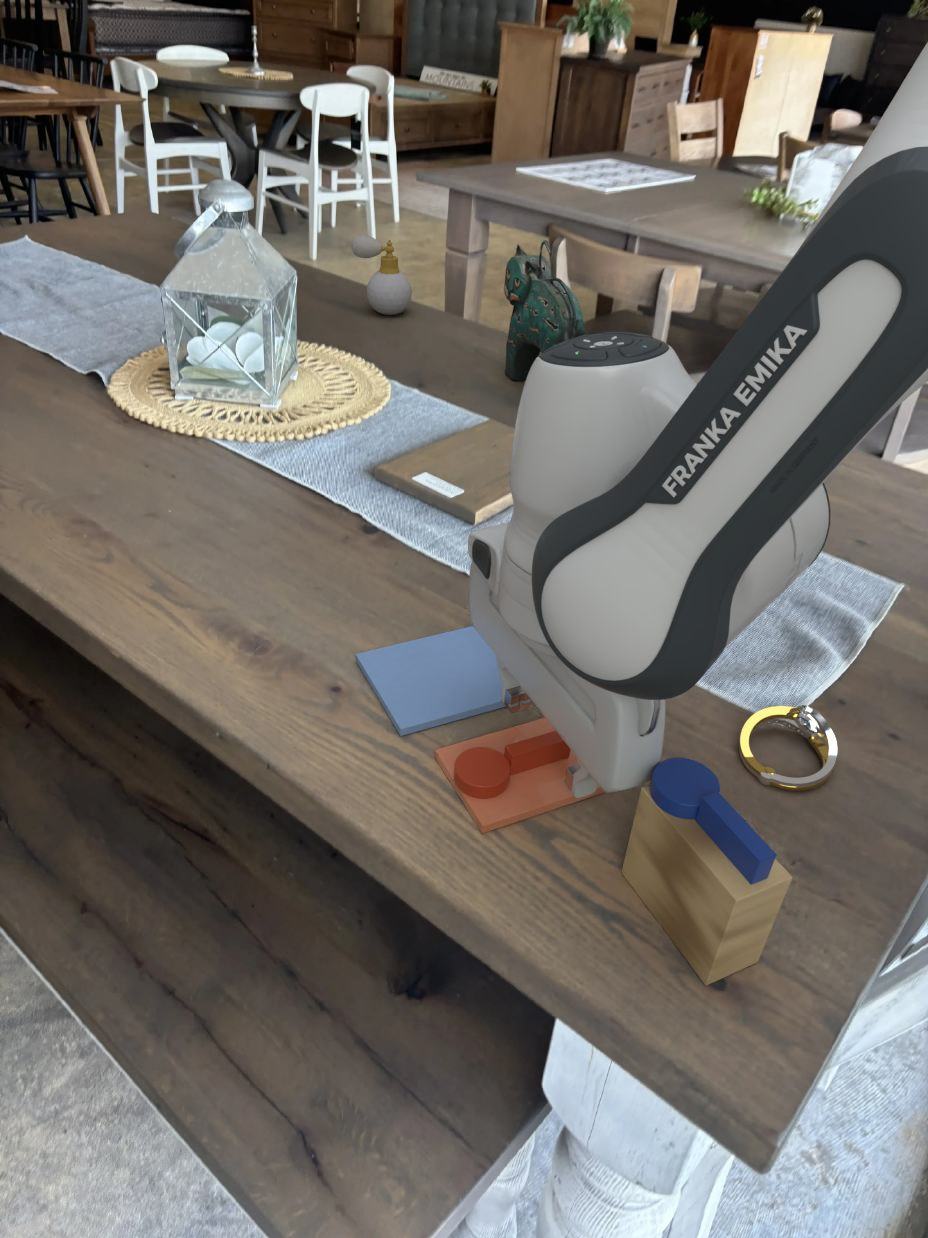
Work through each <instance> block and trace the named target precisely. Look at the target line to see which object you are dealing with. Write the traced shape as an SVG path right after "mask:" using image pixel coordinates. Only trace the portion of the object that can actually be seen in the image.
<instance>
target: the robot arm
mask: <svg viewBox="0 0 928 1238" xmlns="http://www.w3.org/2000/svg"><path fill="white" fill-rule="evenodd" d="M927 383H928V41H927V42H926V44H925V46H924V47H923V49H922V50H921V52H920V53H919V54H918V56H917V58H916V60H915V61H914V63H913V65H912V66H911V68H910V70H909V72H908V73H907V75H906V77H905V78H904V79H903V81H902V83H901V85H900V86H899V89H897V91H896V93H895V95H894V96H893V98H892V100H891V101H890V103H889V105H888V106H887V108H886V110H885V111H884V113H883V115H882V116H881V118H880V120H879V121H878V124H877V125H876V126H875V128H874V130H873V131H872V133H871V134H870V135H869V138H868V139H867V141H866V143H864V146H863V147H862V148H861V150H860V152H859V154H858V155H857V157H856V158H855V159H854V160H853V163H852V164H851V165H850V167H849V169H848V171H847V172H846V173H845V175H844V176H843V178H842V179H841V181H840V182H839V184H838V186H837V187H836V188H835V190H834V192H833V193H832V195H831V197H830V198H829V200H828V201H827V203H826V205H825V206H824V207H823V209H822V211H821V212H820V214H819V216H818V217H817V219H816V220H815V222H814V224H813V225H812V226H811V228H810V230H809V232H808V234H807V235H806V236H805V238H804V240H803V242H802V243H801V245H800V246H799V248H798V249H797V250H796V252H795V254H794V255H793V256H792V258H791V259H790V260H789V262H788V263H787V264H786V265H785V266H784V269H782V271H781V272H780V274H779V275H778V277H776V279H775V281H774V282H773V283H772V285H771V286H770V287H769V289H768V290H767V291H766V293H765V294H764V295H763V296H762V298H761V299H760V301H758V303H757V304H756V306H755V307H754V308H753V309H752V311H750V313H749V315H748V316H747V317H746V318H745V320H744V321H743V323H742V324H741V325H740V327H739V328H738V330H737V331H735V333H734V335H733V336H732V337H731V339H730V340H729V341H728V342H727V344H726V345H725V347H724V348H723V349H722V351H720V353H719V355H718V356H717V357H716V358H715V360H714V361H713V362H712V363H711V365H710V367H708V369H707V370H706V372H704V375H702V377H701V378H700V380H699V381H698V382H696V381H695V380H694V379H693V378H692V377H691V375H689V373H688V371H687V369H686V368H685V367H684V365H683V363H682V362H681V360H680V357H679V355H678V354H677V353H676V351H675V350H674V348H673V347H672V346H670V345H669V344H668V343H667V342H665V341H663V340H661V339H659V338H656V337H654V336H652V335H648V334H643V333H638V332H637V333H636V332H630V331H629V332H627V331H626V332H625V331H624V332H623V331H607V332H601V333H593V334H585V335H583V336H579V337H576V338H573V339H570V340H567V341H564V342H562V343H559V344H557V345H555V346H553V347H551V348H549V349H547V350H545V351H544V352H543V353H540V354H539V356H538V357H537V358H536V359H535V361H534V363H533V364H532V366H531V368H530V371H529V373H528V375H527V378H526V381H524V384H523V387H522V392H521V394H520V395H521V396H520V400H519V404H518V408H517V415H516V419H515V426H514V432H513V439H512V449H511V458H510V469H509V488H510V493H511V497H512V503H513V505H512V506H513V507H512V513H511V517H510V520H509V522H504V523H499V524H496V525H495V524H494V525H491V526H486V527H482V528H479V529H476V530H472V531H470V532H469V533H468V537H467V538H468V539H467V553H468V557H469V558H470V560H471V563H470V567H469V580H468V612H469V615H470V619H471V622H472V626H473V627H474V628H475V630H476V631H477V632H478V633H479V635H480V636H481V637H482V638H483V640H484V641H485V642H486V643H487V645H488V646H489V647H490V648H491V650H492V651H493V652H494V653H495V655H496V662H497V666H498V670H499V674H500V679H501V683H502V685H503V686H502V696H501V700H502V701H503V703H504V704H505V705H506V708H507V709H508V710H509V712H510V713H512V714H515V713H518V712H519V711H525V710H527V709H529V708H530V706H531V703H533V704H534V705H535V706H536V708H537V710H539V711H540V713H541V714H542V715H543V717H544V718H546V719H547V720H548V721H549V723H550V724H551V725H552V726H553V728H554V729H555V730H556V731H557V733H558V734H559V735H560V736H561V738H562V739H563V740H564V742H565V743H566V744H567V745H568V747H569V748H570V749H571V750H572V752H573V753H574V754H575V755H576V757H577V762H578V764H579V766H578V765H573V766H570V767H567V768H566V773H565V775H566V779H564V783H565V784H566V786H567V787H568V788H569V790H570V791H571V793H572V794H573V795H574V797H575V798H578V799H579V798H582V797H585V796H588V795H591V794H592V793H594V792H595V791H596V789H597V785H598V784H599V786H600V787H601V788H602V789H603V790H604V791H605V793H617V792H622V791H627V790H630V789H634V788H636V787H639V786H641V785H645V784H647V783H648V782H651V778H652V774H653V771H654V769H655V767H656V766H657V765H658V764H659V763H660V762H662V755H663V748H664V739H665V731H666V730H665V728H666V715H667V714H666V712H667V711H666V700H669V699H673V698H676V697H679V696H681V695H683V694H685V693H686V692H688V691H689V690H691V689H692V688H693V687H694V686H695V685H697V683H698V682H699V681H700V680H701V679H702V678H703V676H704V675H705V674H706V673H707V672H708V671H709V670H710V669H711V667H712V666H713V665H714V663H716V661H717V660H718V659H719V657H721V655H722V654H723V653H724V650H726V648H727V647H728V646H729V645H730V644H731V643H732V642H733V641H734V640H735V639H736V638H737V637H739V635H740V634H742V633H743V631H744V630H746V629H747V628H748V627H749V626H750V625H751V624H752V623H753V622H754V621H755V620H756V619H757V618H758V617H759V616H760V615H761V614H762V613H764V612H765V611H766V610H767V609H768V607H769V606H771V605H772V604H773V602H775V601H776V600H777V599H778V598H779V597H780V596H781V595H782V594H783V593H784V592H785V591H786V590H787V589H788V588H789V587H790V586H791V585H793V584H794V582H796V580H798V578H799V577H800V576H801V575H802V574H803V573H804V572H805V571H806V570H807V569H808V568H809V567H810V566H811V565H812V564H813V563H814V562H815V561H816V560H817V558H818V557H819V556H820V555H821V553H822V551H823V549H824V547H825V545H826V542H827V540H828V537H829V532H830V526H831V503H830V497H829V494H828V490H827V487H826V484H825V482H826V481H827V480H828V479H829V478H830V477H831V475H832V474H833V473H834V472H835V471H836V470H837V469H838V468H839V467H840V465H841V464H842V463H843V462H844V461H845V460H846V459H847V458H848V457H849V456H850V455H851V454H852V452H854V450H856V448H857V447H858V446H859V445H860V444H861V443H862V442H863V440H865V439H866V437H867V436H869V435H870V433H871V432H872V431H873V430H874V429H876V428H877V426H879V425H880V423H881V422H882V421H884V419H885V418H887V417H888V416H889V415H890V414H891V413H892V412H893V411H894V410H895V409H896V408H897V407H899V406H900V405H901V404H902V403H903V402H905V401H906V400H907V399H908V398H909V397H910V396H912V395H913V394H915V392H917V391H918V390H919V389H920V388H922V387H923V386H925V384H927ZM531 701H532V702H531Z"/></svg>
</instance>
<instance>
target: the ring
mask: <svg viewBox="0 0 928 1238" xmlns="http://www.w3.org/2000/svg"><path fill="white" fill-rule="evenodd" d="M770 724H777V725H782V726H783V727H787V728H788V729H791V730H792V731H793V732H796V733H797V734H798V735H801V736H802V738H804V739H806V740H807V741H808V744H810V745H811V746H812V748H813V749H814V750H815V752H816V753H817V755H818V757H819V759H820V761H821V765H822V767H821V769H820V770H818V771H817V772H816V773H813V774H810V775H808V776H802V777H792V776H791V777H790V776H785V775H781V774H778V773H777V772H776V770H775V769H774V768H772V767H770V766H763V765H762V764H761V763H760V762H759V761H757V759H756V758H755V756H754V755H753V753H752V751H751V748H750V737H751V735H752V734H753V733H754V732H755V731H756V730H758V729H759V728H761V727H763V726H766V725H770ZM832 729H833V728H832V727H831V726H830V724H829V723H828V721H827V720H826V719H825V718H824V717H823V715H822V714H821V713H820V712H819V711H818V710H816V709H815V708H813V707H812V706H809V705H805V704H802V705H801V704H800V705H798V706H795V707H794V706H787V705H786V706H785V705H775V706H768V707H765V708H763V709H760V710H758V711H756V712H755V713H753V714H752V715H751V716H749V718H748V719H747V720H746V721H745V723H744V725H743V726H742V729H741V732H740V736H739V742H738V743H739V744H738V750H739V751H738V752H739V755H740V759H741V761H742V763H743V765H744V766H745V768H746V769H747V770H748V771H749V772H750V773H751V774H752V775H753V776H754V777H756V778H757V779H758V782H759V783H760V784H761V785H763V786H766V787H770V786H772V787H775V788H778V789H781V790H786V791H795V792H801V791H802V792H803V791H808V790H809V791H810V790H813V789H816V788H818V787H820V786H822V785H824V784H825V783H826V782H827V781H828V780H829V779H830V777H831V776H832V773H833V770H834V768H835V765H836V763H837V762H836V761H837V757H838V742H837V738H836V735H835V733H834V731H833V730H832ZM818 737H820V738H822V739H823V738H824V740H825V743H824V742H823V741H822V740H821V739H819V738H818Z"/></svg>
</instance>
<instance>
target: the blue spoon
mask: <svg viewBox="0 0 928 1238" xmlns="http://www.w3.org/2000/svg"><path fill="white" fill-rule="evenodd" d="M649 782H650V783H649V785H650V794H651V797H652V799H653V801H654V802H655V803H656V805H657V806H658V807H659V808H661V809H662V810H663V811H665V812H666V813H668V814H670V815H672V816H675V817H678V818H682V819H696V820H695V821H696V822H697V823H698V825H699V826H700V827H701V828H702V829H703V830H704V831H705V833H706V834H707V835H708V836H709V837H710V838H711V839H712V841H713V842H714V843H715V844H716V845H717V846H718V848H719V849H720V850H721V851H722V852H723V853H724V854H725V856H726V857H727V858H728V859H729V860H730V861H731V862H732V864H733V865H734V866H735V867H736V868H737V869H738V870H739V872H740V873H741V874H742V875H743V876H744V877H745V878H746V880H747V881H748V882H749V883H750V884H751V885H752V884H754V883H757V882H759V881H762V880H764V879H767V878H768V876H769V873H770V871H771V868H772V865H773V863H774V860H775V858H776V857H777V853H776V852H775V851H774V850H773V849H772V848H771V847H770V846H769V844H767V842H766V841H765V840H764V839H763V838H762V837H761V836H760V835H759V834H758V833H757V831H756V830H755V829H753V827H752V826H751V825H750V824H749V822H748V821H746V820H745V819H744V817H743V816H742V815H740V813H739V812H738V811H737V810H736V809H735V808H734V807H733V805H732V804H730V802H728V800H727V799H726V798H725V797H724V795H722V794H721V793H720V792H721V784H720V781H719V779H718V776H717V775H716V774H715V773H714V772H713V771H712V770H711V769H710V768H709V767H708V766H707V765H705V764H703V763H701V762H700V761H697V760H694V759H691V758H686V757H669V758H666V759H664V760H661V761H660V763H659V764H658V765H657V766H656V767H655V769H654V771H653V774H652V778H651V780H650V781H649ZM776 859H777V858H776Z"/></svg>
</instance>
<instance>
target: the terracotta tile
mask: <svg viewBox="0 0 928 1238" xmlns="http://www.w3.org/2000/svg"><path fill="white" fill-rule="evenodd" d="M553 731H556V730H555V729H554V728H553V726H552V725H551V724H550V723H549V721H548V720H547V719H546V718H545V717H542V718H539V719H535V720H532V721H528V722H524V723H521V724H518V725H515V726H511V727H508V728H505V729H504V728H503V729H501V730H498V731H494V732H491V733H487V734H484V735H481V736H477V737H474V738H471V739H467V740H463V741H461V742H457V743H454V744H449V745H446V746H443V747H439V748H435V749H434V758H435V761H436V762H437V763H438V765H439V767H440V768H441V770H442V771H443V773H444V775H445V776H446V778H447V780H448V781H449V782H450V785H451V786H452V787H453V789H454V791H455V792H456V795H457V796H458V797H459V799H460V801H461V802H462V804H463V805H464V807H465V808H466V811H468V813H469V815H470V817H471V818H472V820H473V821H474V823H475V824H476V826H477V828H478V830H479V831H480V833H481V834H485V833H489V832H491V831H495V830H497V829H501V828H502V827H503V828H504V827H507V826H510V825H512V824H515V823H518V822H521V821H524V820H527V819H530V818H533V817H536V816H539V815H541V814H544V813H547V812H550V811H553V810H557V809H559V808H562V807H565V806H569V805H571V804H574V803H577V802H580V801H583V800H586V799H589V798H591V797H595V796H599V795H601V794H604V793H606V791H604V790H603V789H602V788H601V787H600V786H599V784H598V785H597V789H596V791H595V792H594V793H592V794H591V795H588V796H585V797H582V798H579V799H578V798H575V797H574V795H573V794H572V793H571V791H570V790H569V788H568V787H567V786H566V784H565V783H564V779H566V775H565V773H566V768H567V767H570V766H573V765H578V766H579V764H578V762H577V757H576V755H575V754H574V753H573V752H572V750H570V756H569V757H568V758H565V759H562V760H559V761H556V762H552V763H549V764H546V765H543V766H540V767H536V768H533V769H530V770H527V771H524V772H520V773H517V774H514V775H510V780H509V784H508V787H507V788H506V790H505V791H504V792H503V793H501V794H500V795H498V796H495V797H492V798H486V799H481V798H474V797H471V796H468V795H466V794H465V793H463V792H462V791H461V790H460V789H459V788H458V787H457V786H456V784H455V781H454V765H455V761H456V759H457V757H458V756H459V755H460V754H461V753H462V752H464V751H466V750H468V749H471V748H476V747H485V748H491V749H494V750H496V751H498V752H500V753H501V754H503V755H504V751H505V746H506V745H509V744H512V743H516V742H519V741H522V740H526V739H529V738H533V737H536V736H539V735H543V734H546V733H549V732H553Z"/></svg>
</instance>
